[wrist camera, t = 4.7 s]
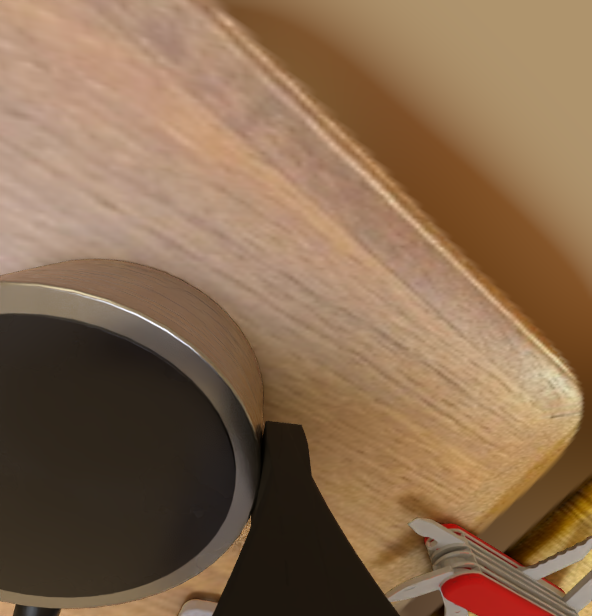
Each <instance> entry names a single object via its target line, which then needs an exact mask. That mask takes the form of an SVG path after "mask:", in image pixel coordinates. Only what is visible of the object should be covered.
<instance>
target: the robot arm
mask: <svg viewBox="0 0 592 616" xmlns="http://www.w3.org/2000/svg"><path fill="white" fill-rule="evenodd" d="M178 616H400V615H399V614H398V613H397V611H396V610H395V608H394V607H393V606H392V604H391V603H390V601H389V600H388V599H387V597H386V596H385V594H384V593H383V592H382V590H381V589H380V587H379V586H378V585H377V583H376V582H375V580H374V579H373V578H372V576H371V575H370V573H369V572H368V570H367V569H366V567H365V566H364V564H363V563H362V561H361V560H360V558H359V557H358V555H357V554H356V552H355V551H354V549H353V547H352V546H351V544H350V543H349V541H348V540H347V538H346V536H345V535H344V533H343V531H342V530H341V528H340V526H339V525H338V523H337V521H336V520H335V518H334V516H333V515H332V513H331V511H330V509H329V508H328V506H327V504H326V502H325V500H324V499H323V497H322V495H321V493H320V491H319V489H318V487H317V485H316V483H315V481H314V480H313V478H312V475H311V466H310V457H309V449H308V443H307V439H306V436H305V433H304V430H303V428H302V425H298V424H288V423H279V422H270V421H266V423H265V428H264V433H263V438H262V466H261V479H260V485H259V490H258V495H257V499H256V503H255V506H254V508H253V511H252V513H251V528H250V531H249V533H248V536H247V538H246V541H245V543H244V545H243V548H242V550H241V553H240V555H239V557H238V560H237V562H236V564H235V567H234V569H233V571H232V573H231V576H230V578H229V580H228V582H227V584H226V587H225V589H224V591H223V593H222V595H221V597H220V600H219V602H218V603H217V602H212V601H206V600H200V599H192V600H189V601H187V602H186V603H185V604H184V605H183V607H182V609H181V611H180V613H179V615H178Z"/></svg>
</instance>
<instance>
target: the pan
mask: <svg viewBox="0 0 592 616" xmlns="http://www.w3.org/2000/svg"><path fill="white" fill-rule="evenodd" d="M263 396H264V395H263V385H262V378H261V374H260V370H259V366H258V363H257V360H256V358H255V355H254V353H253V351H252V348H251V346H250V345H249V343H248V341H247V340H246V338H245V336H244V334H243V333H242V331H241V330H240V329H239V328H238V326H237V325H236V324H235V323H234V321H233V320H232V319H231V318H230V317H229V316H228V315H227V314H226V313H225V312H224V311H223V310H222V309H221V308H220V307H219V306H218V305H217V304H216V303H215V302H214V301H212V300H211V299H210V298H208V297H207V296H206V295H204V294H203V293H202V292H201V291H199V290H197V289H196V288H194V287H192V286H191V285H189V284H187V283H186V282H184V281H182V280H180V279H178V278H176V277H173V276H171V275H169V274H167V273H164V272H162V271H159V270H156V269H153V268H149V267H146V266H143V265H140V264H134V263H129V262H124V261H118V260H105V259H83V260H70V261H65V262H60V263H55V264H49V265H45V266H40V267H36V268H31V269H27V270H22V271H17V272H13V273H8V274H4V275H0V601H2V602H7V603H13V604H16V606H15V609H14V613H13V616H59V614H60V611H61V608H64V609H78V608H95V607H103V606H110V605H118V604H123V603H127V602H131V601H136V600H140V599H144V598H147V597H150V596H153V595H156V594H159V593H162V592H164V591H166V590H169V589H171V588H173V587H175V586H178V585H180V584H182V583H184V582H185V581H187V580H189V579H191V578H192V577H194V576H196V575H198V574H199V573H200V572H202V571H203V570H205V569H206V568H207V567H209V566H210V565H211V564H213V563H214V562H215V561H216V560H217V559H218V558H219V557H220V556H222V555H223V554H224V553H225V552H226V551H227V550H228V549H229V547H230V546H231V545H232V544H233V542H234V541H235V540H236V539H237V538H238V536H239V535H240V533H241V532H242V530H243V528H244V527H245V525H246V523H247V522H248V520H249V518H250V515H251V513H252V511H253V508H254V506H255V503H256V499H257V495H258V490H259V485H260V479H261V466H262V432H263Z"/></svg>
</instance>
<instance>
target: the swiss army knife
mask: <svg viewBox="0 0 592 616" xmlns="http://www.w3.org/2000/svg"><path fill="white" fill-rule="evenodd" d="M408 525H409V526H410V527H411V528H412V529H413V530H414V531H415V532H416V533H417V534H419V535H421V536H424V537H425V538H424V543H425V545H426V548H427V550H428V554H429V557H430V558H431V559H430V560H431V563H432V565H433V566H432V570H433V571H432V572H429V573H426V574H423V575H420V576H417V577H414V578H412V579H410V580H407V581H405V582H403V583H401V584H399V585H397V586H396V587H394V588H393V589H391V590H390V591H389V592H387V593H386V594H385V596H386V597H387V599H388V600H389V601H390V602H393V601H400V600H406V599H410V598H414V597H417V596H420V595H423V594H426V593H429V592H432V591H435V590H440V593H441V596H442V598H443V601H444V604H445V610H444V616H469V615H468V611H470V612H472V613H474V614H476V615H478V616H579V615H578V612H579V611H580V610H582V609H583V608H584V607H585V606H586V605H587V604H588V603H590V602H591V601H592V570H591V571H590V572H589V573H588V574H587V575H586V576H585V577H584V578H583V579H582V580H581V581H579V582H578V583H577V584H576V585H575V586H574V587H573V588H572V589H571V590H570V591H569V592H568V593H567V594H565V592H564V591H563V590H562V589H561V588H559V587H558V586H556V585H554V584H553V583H551V582H549V581H548V580H546V579H545V578H543V577H545V576H548V575H550V574H552V573H554V572H556V571H558V570H561V569H563V568H565V567H567V566H569V565H571V564H574V563H576V562H578V561H580V560H582V559H583V558H584V557H585V556H586V555H587V554H588V552H589V551H590V550H591V549H592V536H589V537H587V538H586V539H585V540H584V541H582V542H580V543H576V544H575V545H574V546H572V547H569V548H566V549H565V550H564V551H561V552H557V553H556V554H555V555H553V556H550V557H548V558H546V559H545V560H543V561H539V562H538V563H536V564H534V565H531V566H528V567H525V566H523V565H522V564H520V563H519V562H517V561H515V560H514V559H512V558H510V557H509V556H507V555H505V554H504V553H502V552H501V551H499V550H497V549H496V548H494V547H492V546H491V545H489V544H488V543H486V542H484V541H482V540H481V539H479V538H478V537H476V536H474V535H473V534H471V533H470V532H468V531H466V530H465V529H463V528H461V527H460V526H458V525H456V524H451V523H448V524H442V525H441V524H439V523H437V522H436V521H434V520H432V519H426V518H418V517H417V518H415V519H414V520H412V521H411V522H409V523H408ZM467 610H468V611H467Z"/></svg>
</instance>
